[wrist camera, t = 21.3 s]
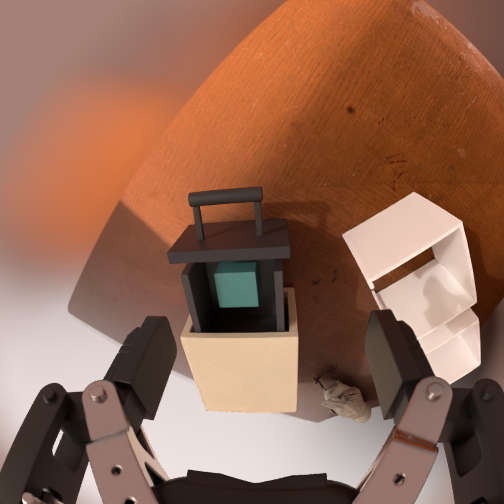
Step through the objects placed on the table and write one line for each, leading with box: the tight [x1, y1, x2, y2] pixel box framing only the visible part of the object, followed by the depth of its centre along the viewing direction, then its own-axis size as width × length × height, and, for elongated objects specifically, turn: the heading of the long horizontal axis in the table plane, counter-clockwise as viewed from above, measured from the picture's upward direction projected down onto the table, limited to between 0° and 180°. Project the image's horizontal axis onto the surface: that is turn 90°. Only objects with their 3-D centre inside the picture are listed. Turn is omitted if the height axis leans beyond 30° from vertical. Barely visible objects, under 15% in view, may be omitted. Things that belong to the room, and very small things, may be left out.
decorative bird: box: [314, 366, 371, 423], centre depth 42 cm, size 5×16×7 cm, turn 43°
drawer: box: [167, 186, 291, 333], centre depth 31 cm, size 18×12×8 cm, turn 5°
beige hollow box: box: [180, 287, 298, 413], centre depth 37 cm, size 15×13×10 cm
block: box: [214, 260, 261, 307], centre depth 32 cm, size 4×4×4 cm
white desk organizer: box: [342, 192, 480, 384], centre depth 31 cm, size 25×11×11 cm, turn 34°
